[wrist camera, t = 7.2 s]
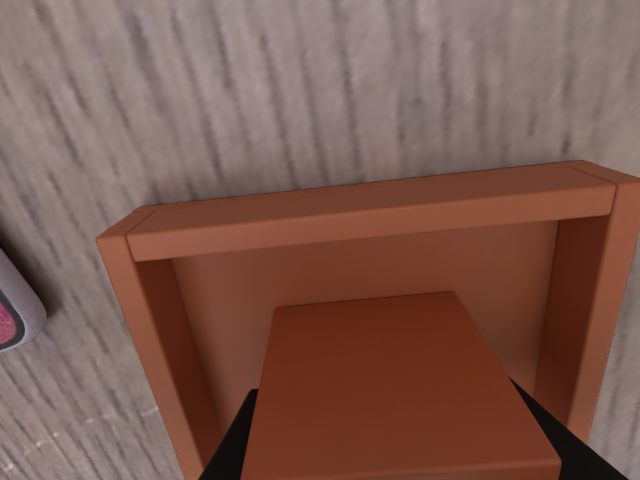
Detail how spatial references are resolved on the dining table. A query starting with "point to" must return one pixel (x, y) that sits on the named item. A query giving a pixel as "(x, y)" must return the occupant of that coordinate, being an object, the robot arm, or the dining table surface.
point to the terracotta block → (389, 398)
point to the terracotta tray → (378, 279)
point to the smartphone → (17, 307)
